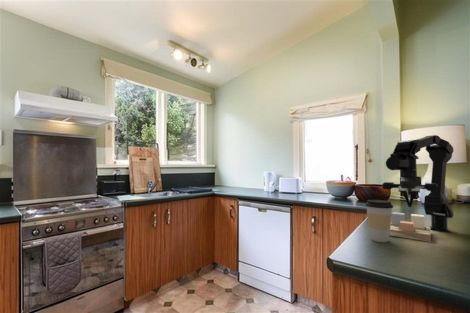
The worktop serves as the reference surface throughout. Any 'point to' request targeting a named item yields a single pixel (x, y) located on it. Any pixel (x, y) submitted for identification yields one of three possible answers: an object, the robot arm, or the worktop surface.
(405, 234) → the panel
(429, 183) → the robot arm
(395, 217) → the slate-blue button
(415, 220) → the cream button
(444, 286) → the worktop surface
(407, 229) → the salmon pink block
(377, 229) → the coffee cup
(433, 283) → the worktop surface
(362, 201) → the worktop surface
